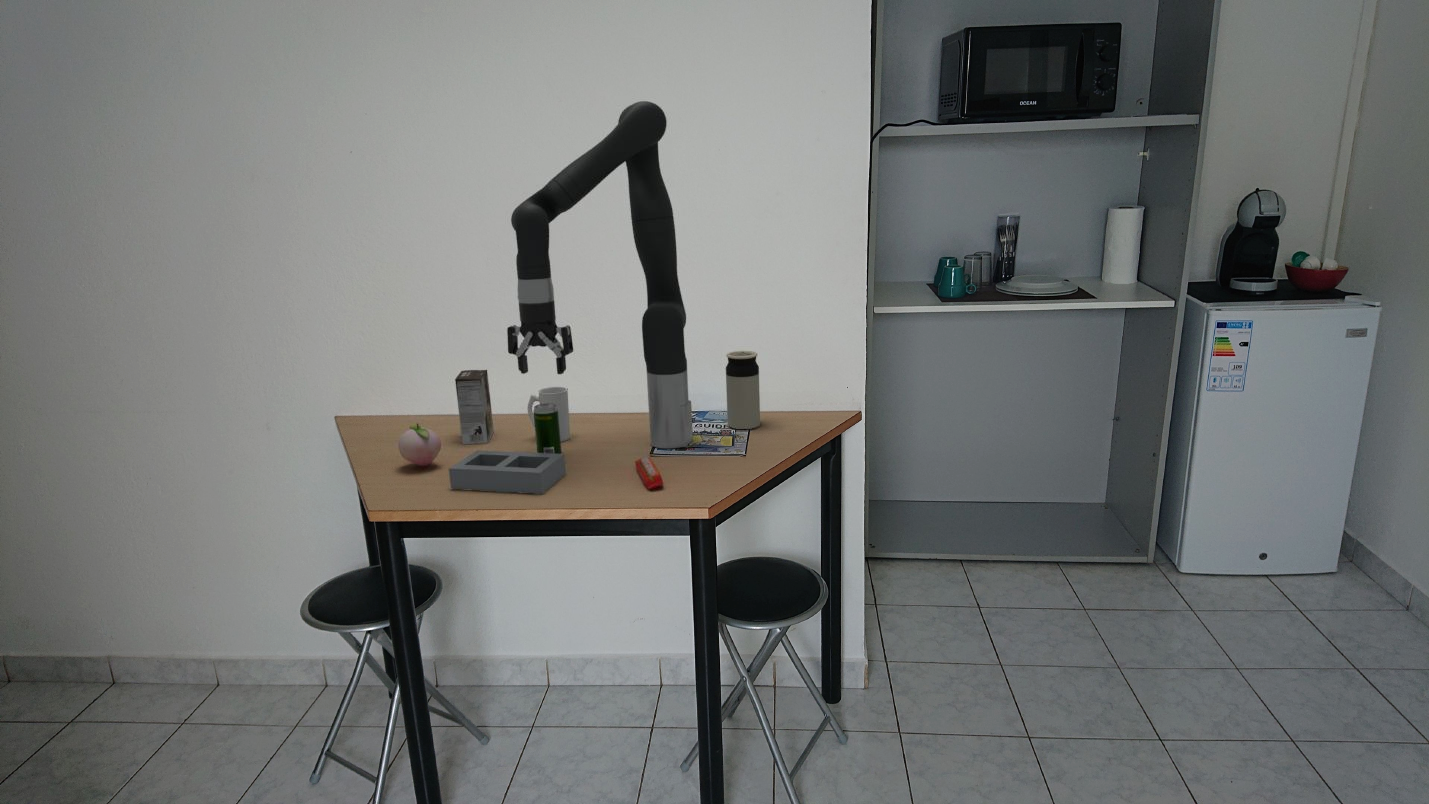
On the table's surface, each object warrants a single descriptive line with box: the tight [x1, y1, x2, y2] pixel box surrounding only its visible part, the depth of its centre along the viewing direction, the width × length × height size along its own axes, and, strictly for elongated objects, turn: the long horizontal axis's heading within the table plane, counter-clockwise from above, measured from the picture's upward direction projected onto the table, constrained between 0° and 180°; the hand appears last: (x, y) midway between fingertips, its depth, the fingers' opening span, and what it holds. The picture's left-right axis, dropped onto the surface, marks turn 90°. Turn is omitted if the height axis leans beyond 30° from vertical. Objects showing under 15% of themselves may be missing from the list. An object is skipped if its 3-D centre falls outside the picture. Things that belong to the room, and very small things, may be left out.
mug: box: [527, 386, 571, 442], centre depth 213 cm, size 10×7×12 cm, turn 81°
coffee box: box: [454, 369, 495, 445], centre depth 215 cm, size 9×6×16 cm
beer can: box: [533, 403, 563, 454], centre depth 199 cm, size 5×5×12 cm
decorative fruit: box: [397, 422, 442, 468], centre depth 196 cm, size 9×8×10 cm
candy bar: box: [634, 456, 664, 490], centre depth 185 cm, size 16×4×3 cm, turn 14°
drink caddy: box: [448, 449, 566, 495], centre depth 185 cm, size 20×12×4 cm, turn 76°
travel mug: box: [725, 350, 761, 430], centre depth 217 cm, size 8×8×18 cm
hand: (542, 373), depth 195 cm, fingers open, 8 cm apart
